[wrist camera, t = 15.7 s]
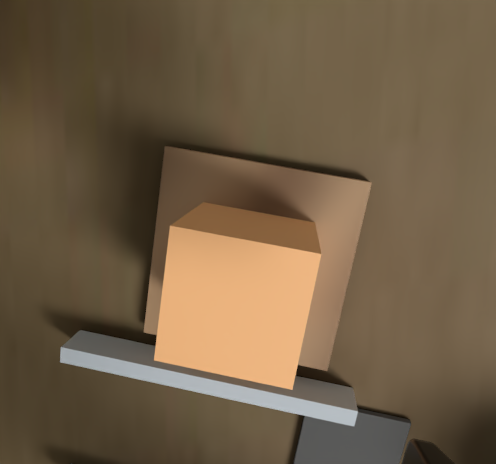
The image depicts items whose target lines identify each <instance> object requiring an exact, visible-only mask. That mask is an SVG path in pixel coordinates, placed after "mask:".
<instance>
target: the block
mask: <svg viewBox="0 0 496 464" xmlns="http://www.w3.org/2000/svg"><path fill="white" fill-rule="evenodd" d="M320 259H321V249H320V244H319V239H318V234H317V229H316V224H315V222H309V221H304V220H298V219H293V218H287V217H282V216H276V215H271V214H265V213H260V212H255V211H249V210H244V209H238V208H233V207H227V206H222V205H216V204H211V203H205V202H203V203H201V204H200V205H199V206H197V207H196V208H194V209H193V210H191V211H190V212H189V213H187V214H186V215H184V216H183V217H182V218H180V219H179V220H177V221H176V222H174V223H173V224H172V225H170V230H169V238H168V247H167V255H166V263H165V272H164V280H163V288H162V297H161V305H160V313H159V322H158V330H157V338H156V347H155V355H154V361H159V362H164V363H168V364H173V365H178V366H183V367H187V368H192V369H197V370H201V371H206V372H211V373H215V374H220V375H225V376H229V377H234V378H239V379H244V380H248V381H253V382H258V383H262V384H267V385H272V386H276V387H281V388H286V389H290V390H292V389H293V385H294V380H295V375H296V371H297V366H298V361H299V357H300V352H301V347H302V343H303V338H304V333H305V329H306V324H307V319H308V315H309V310H310V305H311V301H312V296H313V291H314V287H315V282H316V277H317V273H318V268H319V263H320Z"/></svg>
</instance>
